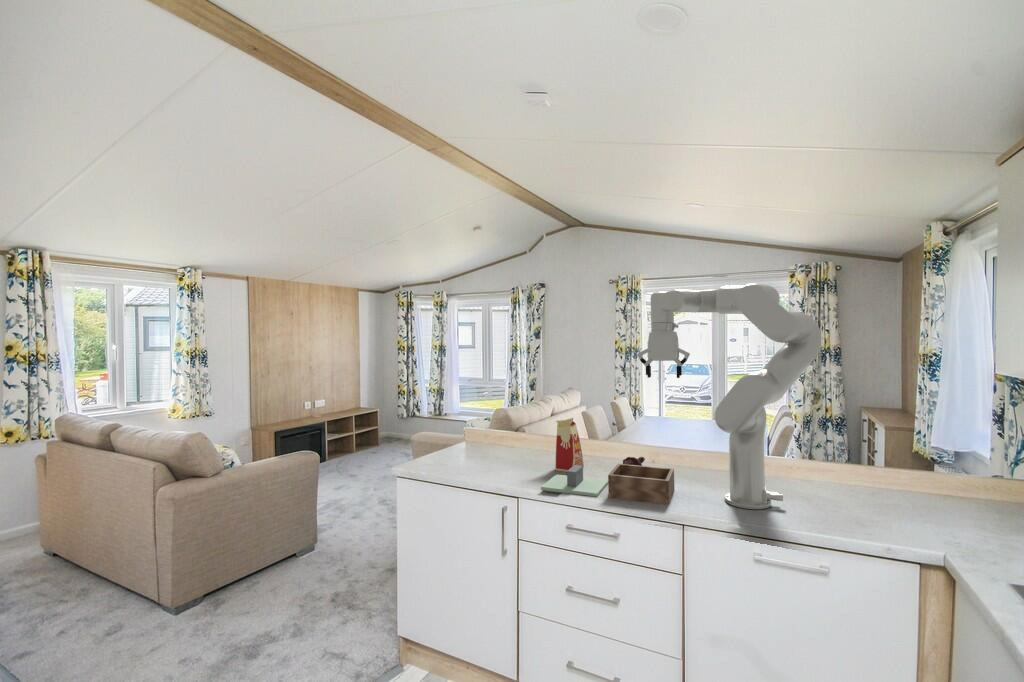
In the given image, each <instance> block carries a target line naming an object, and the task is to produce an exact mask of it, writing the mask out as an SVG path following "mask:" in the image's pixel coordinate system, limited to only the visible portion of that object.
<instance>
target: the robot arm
mask: <svg viewBox="0 0 1024 682" xmlns="http://www.w3.org/2000/svg"><path fill="white" fill-rule="evenodd" d="M780 296H781V295H780V293H779V291H778V290H777V289H776V288H775V287H773V286H772V285H767V284H761V283H748V284H745V285H730V286H729V285H724V286H720V287H719V288H718V289H708V290H707V289H706V290H705V289H704V290H702V289H701V290H693V289H680V288H678V289H676V288H675V289H672V290H668V291H657V292H653V293H651V295H650V324H651V325H650V330H651V331H650V332H648V340H647V348H646V349H644V350H642V351H640V352H638V353H637V357H638V358H639V360H640V362H641V363H642V364H643V365H644V366H645V375H646V376H647V379H649V378H651V377H652V366H651V363H652V362H653V361H654V362H657V361H658V362H659V361H660V362H664V361H665V362H669V361H670V362H675V363H676V379H680V378H681V376H682V374H683V373H682V369H683V365H684V364H685V363H686V362H687V361H688V359H689V357H690V356H691V354H690V352H689V351H686V350H684V349H682V348H681V347H679V346H680V345H679V337H678V332H677V331H675V329H679V324H678V323H675V322H674V321H675V317H674V316H675V313H718V314H722V315H723V314H724V315H725V314H726V315H733V314H735V315H736V314H737V315H743V316H744V317H745V318H746V319H747V320H748V321H749V322H750V323H752V324H753V325H754V326H755V327H756V328H757V329H758V330H759V331H760V332H761V333H762V334H763V335H764V336H766V337H767V338H768V339H769V340H771V341H774V342H775V343H780V344H783V343H784V344H783V346H781V348H780V349H778V350H777V352H776V353H774V354H773V356H772V357H771V358H770V359H769V361H768V362H767V363H766V364H765V365H764V366H763V367H762V368H761V369H760V370H757V371H752V372H749V373H746V374H745V375H743V376H742V377H740V378H739V379H738V380H737V381H736V382H735V383H734V385H733V386H732V387H731V389H730V390H729V391H728V392H727V394H726V395H725V396H724V397H723V398H722V400H721V401H720V402H719V404H718V405H717V407H716V409H715V411H714V421H715V424H716V426H717V427H718V428H719V429H720V430H721V431H723V432H724V433H728V434H729V436H728V437H729V440H728V460H729V461H728V463H729V465H728V466H729V468H728V469H729V492H728V493H726V494H725V495H724V502H726V503H727V504H729V505H731V506H734V507H737V508H739V509H740V508H742V509H747V510H763V509H768V508H770V507H771V506H772V501H777V502H784V495H783V494H782V493H781V494H779V493H778V492H777V491H769V490H767V486H766V477H765V476H766V475H765V474H766V473H765V432H766V427H767V426H766V425H767V411H766V409H765V406H766V405H771V404H774V403H776V402H779V401H780V400H781V399H782V398H783V397H784V395H786V393H787V392H788V390H789V389H790V388H792V386H793V385H794V384H795V383H796V382H797V380H799V378H800V376H801V375H802V374H803V373H804V372H805V371H806V369H807V368H808V367H809V366H810V365H811V364H812V362H814V360H815V359H816V357H817V355H818V354H819V352H820V349H821V345H822V332H821V329H820V327H819V325H818V323H817V322H816V320H815V319H814V318H813V317H812V316H810V315H809V314H807V313H805V312H801V311H787V310H788V309H787V310H786V308H784V307H783V306H782V305H781V304H780V301H781V297H780ZM645 354H647V360H646V359H645V358H644V355H645ZM680 354H682V355H683V356H684V357H683V359H681V360H680Z"/></svg>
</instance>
